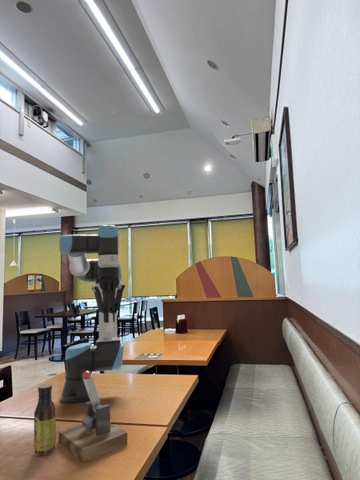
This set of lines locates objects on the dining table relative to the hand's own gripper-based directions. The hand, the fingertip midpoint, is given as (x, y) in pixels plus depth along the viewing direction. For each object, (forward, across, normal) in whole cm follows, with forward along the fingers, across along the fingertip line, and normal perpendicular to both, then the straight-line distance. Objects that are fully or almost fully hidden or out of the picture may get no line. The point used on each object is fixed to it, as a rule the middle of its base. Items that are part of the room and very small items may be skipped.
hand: (109, 331), depth 120 cm
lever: (+27, -8, -5) cm, 29 cm away
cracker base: (+34, -10, -5) cm, 35 cm away
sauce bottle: (+34, -23, +1) cm, 41 cm away
